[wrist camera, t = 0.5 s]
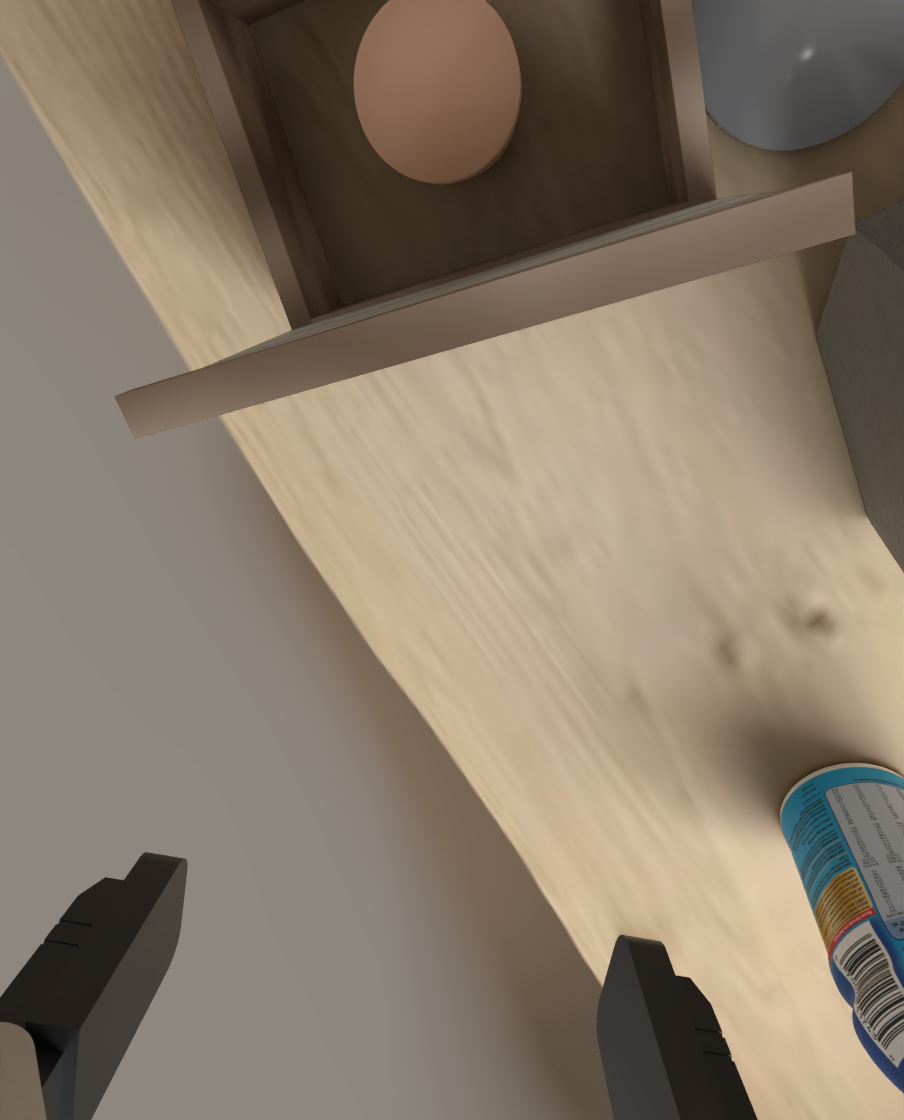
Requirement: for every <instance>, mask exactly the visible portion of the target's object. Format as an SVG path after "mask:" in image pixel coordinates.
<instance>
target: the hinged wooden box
mask: <svg viewBox="0 0 904 1120" xmlns="http://www.w3.org/2000/svg"><path fill="white" fill-rule="evenodd" d="M171 1H172V4H173V7H174V10H175V12H176V15H177V18H178V20H179V23H180V26H181V29H182V31H183V34H184V37H185V40H186V42H187V45H188V48H189V50H190V53H191V56H192V59H193V61H194V64H195V67H196V70H197V72H198V75H199V78H200V80H201V83H202V86H203V89H204V91H205V94H206V97H207V100H208V102H209V105H210V108H211V110H212V113H213V116H214V119H215V121H216V124H217V127H218V130H219V132H220V135H221V138H222V140H223V143H224V146H225V149H226V151H227V154H228V157H229V160H230V162H231V165H232V168H233V170H234V173H235V176H236V179H237V181H238V184H239V187H240V190H241V192H242V195H243V198H244V200H245V203H246V206H247V209H248V211H249V214H250V217H251V220H252V222H253V225H254V228H255V230H256V233H257V236H258V239H259V241H260V244H261V247H262V250H263V252H264V255H265V258H266V260H267V263H268V266H269V269H270V271H271V274H272V277H273V280H274V282H275V285H276V288H277V290H278V293H279V296H280V299H281V301H282V304H283V307H284V310H285V312H286V315H287V318H288V321H289V323H290V326H291V329H292V330H291V331H289V332H286V333H284V334H282V335H279V336H277V337H275V338H272V339H270V340H268V341H265V342H263V343H260V344H258V345H256V346H253V347H251V348H249V349H246V350H244V351H242V352H239V353H237V354H234V355H232V356H230V357H227V358H225V359H223V360H220V361H218V362H216V363H213V364H211V365H208V366H206V367H204V368H201V369H198V370H194V371H191V372H188V373H185V374H182V375H178V376H175V377H171V378H168V379H165V380H162V381H158V382H155V383H152V384H149V385H146V386H142V387H139V388H136V389H132V390H129V391H127V392H124V393H122V394H120V395H117V396H115V399H116V401H117V403H118V405H119V406H120V409H121V411H122V413H123V415H124V417H125V419H126V422H127V424H128V426H129V428H130V430H131V432H132V434H133V436H134V438H135V439H138V438H141V437H145V436H148V435H152V434H155V433H159V432H162V431H166V430H169V429H173V428H176V427H180V426H183V425H187V424H190V423H194V422H197V421H201V420H204V419H208V418H212V417H215V416H219V415H222V414H226V413H229V412H233V411H236V410H240V409H243V408H247V407H250V406H254V405H257V404H261V403H264V402H268V401H271V400H275V399H278V398H282V397H285V396H289V395H292V394H296V393H299V392H303V391H306V390H310V389H313V388H317V387H320V386H324V385H327V384H331V383H334V382H338V381H341V380H345V379H348V378H352V377H355V376H359V375H363V374H366V373H370V372H373V371H377V370H380V369H384V368H387V367H391V366H394V365H398V364H401V363H405V362H408V361H412V360H415V359H419V358H422V357H426V356H429V355H433V354H436V353H440V352H443V351H447V350H450V349H454V348H457V347H461V346H464V345H468V344H471V343H475V342H478V341H482V340H485V339H489V338H492V337H496V336H499V335H503V334H506V333H510V332H514V331H517V330H521V329H524V328H528V327H531V326H535V325H538V324H542V323H545V322H549V321H552V320H556V319H559V318H563V317H566V316H570V315H573V314H577V313H580V312H584V311H587V310H591V309H594V308H598V307H601V306H605V305H608V304H612V303H615V302H619V301H622V300H626V299H629V298H633V297H636V296H640V295H643V294H647V293H650V292H654V291H657V290H661V289H664V288H668V287H672V286H675V285H679V284H682V283H686V282H689V281H693V280H696V279H700V278H703V277H707V276H710V275H714V274H717V273H721V272H724V271H728V270H731V269H735V268H738V267H742V266H745V265H749V264H752V263H756V262H759V261H763V260H766V259H770V258H773V257H777V256H780V255H784V254H787V253H791V252H794V251H798V250H801V249H805V248H808V247H812V246H815V245H819V244H823V243H826V242H830V241H833V240H837V239H840V238H844V237H847V236H851V235H854V234H856V233H855V215H854V198H853V180H852V172H848V173H842V174H837V175H833V176H830V177H827V178H824V179H820V180H817V181H814V182H810V183H807V184H804V185H801V186H797V187H794V188H791V189H788V190H784V191H778V192H770V193H761V194H753V195H745V196H736V197H728V198H720V199H717V197H716V189H715V181H714V173H713V165H712V157H711V150H710V142H709V134H708V126H707V118H706V110H705V102H704V94H703V86H702V78H701V70H700V63H699V55H698V47H697V39H696V31H695V23H694V15H693V7H692V0H639V1H640V7H641V14H642V21H643V27H644V34H645V41H646V47H647V54H648V60H649V67H650V74H651V80H652V87H653V94H654V100H655V107H656V114H657V120H658V127H659V134H660V140H661V147H662V153H663V160H664V167H665V173H666V180H667V187H668V193H669V200H670V204H668V205H665V206H662V207H659V208H656V209H652V210H649V211H646V212H643V213H640V214H636V215H633V216H630V217H627V218H624V219H620V220H617V221H614V222H611V223H608V224H604V225H601V226H598V227H595V228H592V229H588V230H585V231H582V232H579V233H576V234H572V235H569V236H566V237H563V238H560V239H556V240H553V241H550V242H547V243H543V244H540V245H537V246H534V247H531V248H527V249H524V250H521V251H518V252H515V253H511V254H508V255H505V256H502V257H499V258H495V259H492V260H489V261H486V262H483V263H479V264H476V265H473V266H470V267H467V268H463V269H460V270H457V271H454V272H451V273H447V274H444V275H441V276H438V277H435V278H431V279H428V280H425V281H422V282H419V283H415V284H412V285H409V286H406V287H403V288H399V289H396V290H393V291H390V292H387V293H383V294H380V295H377V296H374V297H371V298H367V299H364V300H361V301H358V302H355V303H351V304H348V305H345V306H342V305H341V302H340V299H339V296H338V293H337V290H336V287H335V284H334V281H333V278H332V275H331V272H330V269H329V266H328V263H327V260H326V257H325V254H324V251H323V248H322V245H321V242H320V239H319V236H318V233H317V230H316V227H315V224H314V221H313V218H312V215H311V212H310V209H309V206H308V203H307V200H306V197H305V194H304V191H303V188H302V185H301V182H300V179H299V176H298V173H297V170H296V167H295V164H294V161H293V158H292V155H291V152H290V149H289V146H288V143H287V140H286V137H285V134H284V131H283V128H282V126H281V123H280V120H279V117H278V114H277V111H276V108H275V105H274V102H273V99H272V96H271V93H270V90H269V87H268V84H267V81H266V78H265V75H264V72H263V69H262V66H261V63H260V60H259V57H258V54H257V51H256V48H255V45H254V42H253V39H252V36H251V33H250V30H249V27H248V25H249V24H251V23H254V22H256V21H258V20H261V19H263V18H265V17H268V16H270V15H272V14H274V13H277V12H279V11H281V10H284V9H286V8H288V7H291V6H293V5H295V4H298V3H300V2H302V1H305V0H171Z"/></svg>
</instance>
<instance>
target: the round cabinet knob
mask: <svg viewBox="0 0 904 1120" xmlns="http://www.w3.org/2000/svg"><path fill="white" fill-rule="evenodd" d="M521 95H522V82H521V72H520V66H519V62H518V57H517V54H516V50H515V46H514V43H513V41H512V38H511V36H510V33H509V31H508V29H507V27H506V25H505V24H504V22H503V20H502V19H501V17H500V16H499V15H498V13H497V12H496V11H495V9H494V8H493V7H492V6H491V5H490V4H489V3H488V2H487V1H486V0H389V1H388V2H387V3H386V4H385V5H384V6H383V7H382V8H381V9H380V10H379V11H378V13H377V14H376V15H375V16H374V18H373V19H372V21H371V23H370V24H369V26H368V27H367V29H366V31H365V34H364V36H363V38H362V40H361V43H360V46H359V49H358V53H357V57H356V62H355V69H354V97H355V105H356V109H357V113H358V117H359V120H360V123H361V126H362V128H363V130H364V133H365V135H366V137H367V139H368V140H369V142H370V143H371V145H372V147H373V148H374V150H375V151H376V152H377V153H378V154H379V156H380V157H381V158H382V159H383V160H384V161H385V162H386V163H387V164H388V165H390V166H391V167H392V168H394V169H395V170H396V171H398V172H400V173H401V174H403V175H405V176H407V177H410V178H413V179H415V180H418V181H422V182H426V183H431V184H453V183H457V182H461V181H465V180H467V179H469V178H472V177H474V176H475V175H478V174H480V173H483V172H484V171H486V170H488V169H489V168H491V167H492V166H493V165H494V164H495V163H496V162H497V161H498V160H499V159H500V158H501V157H502V155H503V154H504V153H505V151H506V149H507V148H508V146H509V144H510V141H511V139H512V136H513V133H514V129H515V126H516V122H517V119H518V116H519V111H520V105H521Z"/></svg>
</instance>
